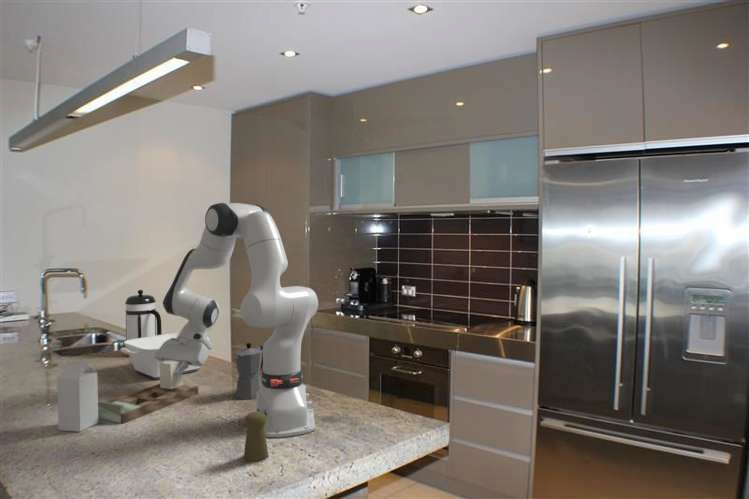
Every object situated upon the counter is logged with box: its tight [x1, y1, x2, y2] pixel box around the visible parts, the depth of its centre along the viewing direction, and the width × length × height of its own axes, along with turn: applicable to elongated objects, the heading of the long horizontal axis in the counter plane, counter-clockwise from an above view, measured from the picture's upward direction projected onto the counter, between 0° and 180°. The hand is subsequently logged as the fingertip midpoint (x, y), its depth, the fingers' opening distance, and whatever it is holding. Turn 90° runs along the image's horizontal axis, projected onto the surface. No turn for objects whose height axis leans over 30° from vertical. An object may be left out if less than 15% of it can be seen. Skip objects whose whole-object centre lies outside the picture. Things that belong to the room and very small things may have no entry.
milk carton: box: [56, 360, 99, 433], centre depth 146 cm, size 7×7×19 cm
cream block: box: [159, 360, 183, 389], centre depth 174 cm, size 5×5×8 cm
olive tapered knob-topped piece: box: [243, 411, 269, 463], centre depth 125 cm, size 6×6×11 cm
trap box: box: [98, 383, 199, 424], centre depth 165 cm, size 30×15×5 cm, turn 155°
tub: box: [119, 332, 211, 381], centre depth 204 cm, size 34×27×13 cm
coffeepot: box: [234, 342, 264, 400], centre depth 174 cm, size 15×9×18 cm, turn 157°
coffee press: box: [123, 289, 163, 357], centre depth 234 cm, size 17×16×30 cm
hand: (169, 373), depth 173 cm, fingers closed on cream block, 5 cm apart
